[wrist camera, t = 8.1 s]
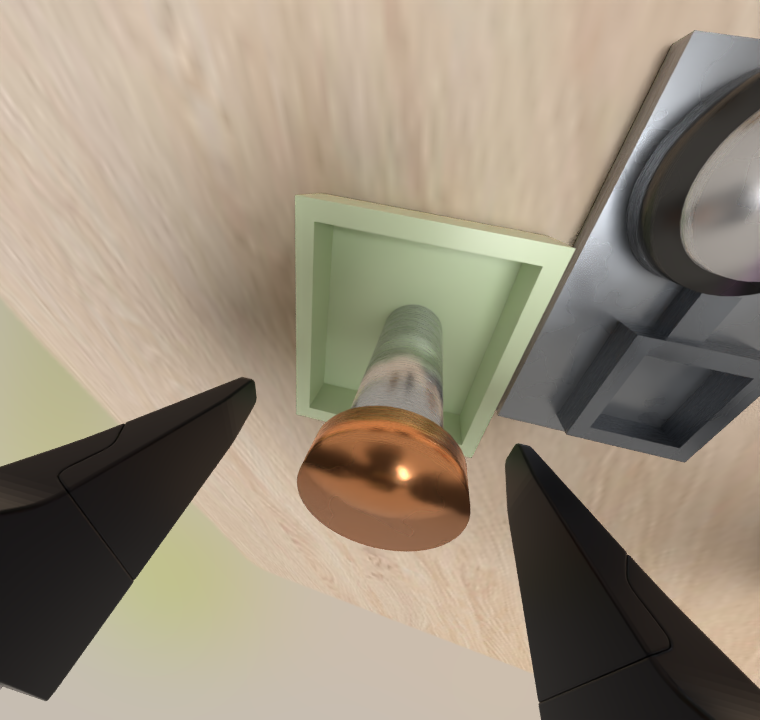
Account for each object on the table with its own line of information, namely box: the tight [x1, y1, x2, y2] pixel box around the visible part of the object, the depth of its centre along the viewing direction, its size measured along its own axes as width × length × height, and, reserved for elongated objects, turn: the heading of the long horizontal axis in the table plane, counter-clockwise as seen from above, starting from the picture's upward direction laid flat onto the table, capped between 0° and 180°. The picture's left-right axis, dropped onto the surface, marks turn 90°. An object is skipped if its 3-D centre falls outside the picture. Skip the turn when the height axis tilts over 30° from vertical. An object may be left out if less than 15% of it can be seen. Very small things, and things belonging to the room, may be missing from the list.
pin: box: [297, 304, 470, 551], centre depth 12 cm, size 4×4×10 cm
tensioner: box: [496, 30, 760, 462], centre depth 12 cm, size 16×10×4 cm, turn 171°
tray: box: [295, 193, 576, 458], centre depth 15 cm, size 12×11×3 cm
